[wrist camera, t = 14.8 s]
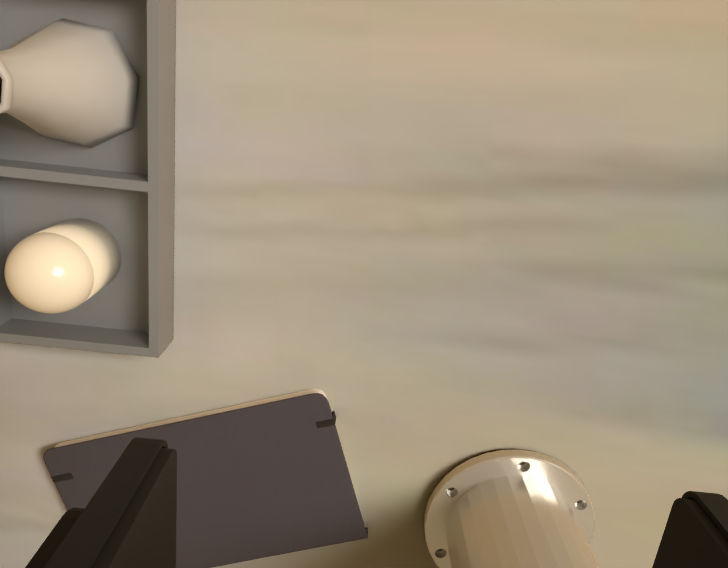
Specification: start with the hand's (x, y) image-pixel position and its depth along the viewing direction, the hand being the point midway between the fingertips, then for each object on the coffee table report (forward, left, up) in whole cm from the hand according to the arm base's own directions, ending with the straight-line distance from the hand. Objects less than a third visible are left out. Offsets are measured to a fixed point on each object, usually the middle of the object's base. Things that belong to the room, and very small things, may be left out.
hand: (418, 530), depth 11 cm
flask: (+6, +19, -28) cm, 34 cm away
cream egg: (-4, +19, -28) cm, 34 cm away
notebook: (-22, +11, -29) cm, 38 cm away
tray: (+1, +19, -28) cm, 34 cm away
